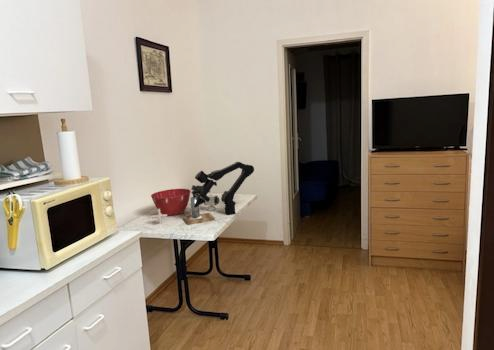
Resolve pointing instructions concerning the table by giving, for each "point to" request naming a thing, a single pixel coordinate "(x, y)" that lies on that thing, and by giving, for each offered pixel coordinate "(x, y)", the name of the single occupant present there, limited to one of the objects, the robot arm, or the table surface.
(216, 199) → the pneumatic valve
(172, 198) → the mixing bowl
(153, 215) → the pipe connector
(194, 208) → the steel hub
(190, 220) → the mounting plate
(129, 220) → the table surface
